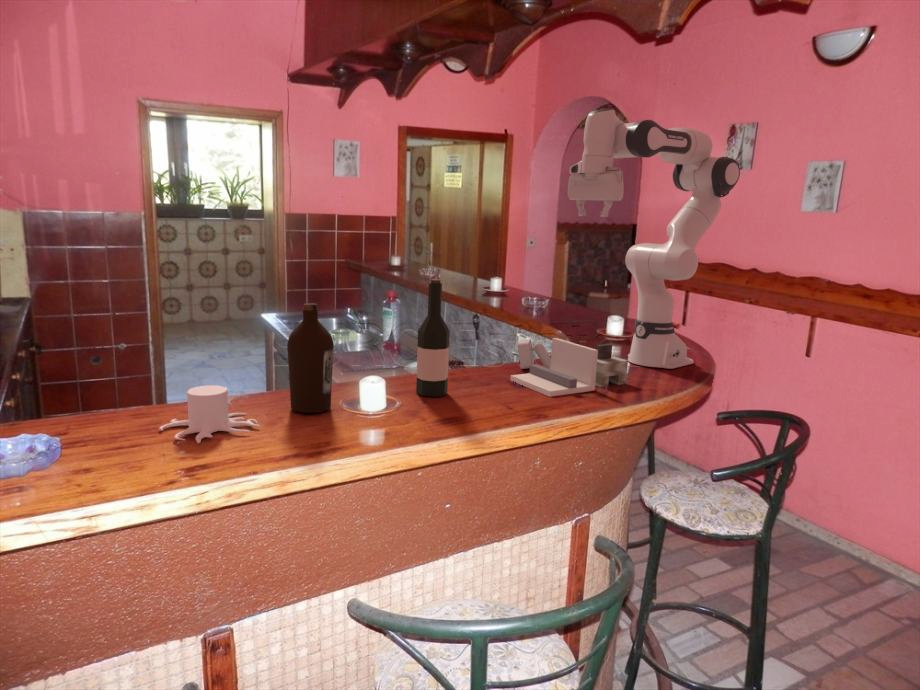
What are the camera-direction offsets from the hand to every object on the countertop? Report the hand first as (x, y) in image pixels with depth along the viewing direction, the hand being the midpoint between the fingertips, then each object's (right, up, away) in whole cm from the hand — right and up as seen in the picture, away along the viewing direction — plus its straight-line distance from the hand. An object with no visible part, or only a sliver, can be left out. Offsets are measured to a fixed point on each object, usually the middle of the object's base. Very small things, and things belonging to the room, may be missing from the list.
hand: (592, 216), depth 190 cm
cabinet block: (+3, -48, +2) cm, 48 cm away
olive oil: (-75, -53, -34) cm, 98 cm away
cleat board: (-13, -49, -5) cm, 51 cm away
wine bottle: (-46, -50, -17) cm, 71 cm away
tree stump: (-94, -55, -48) cm, 119 cm away
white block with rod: (-14, -46, +12) cm, 50 cm away
